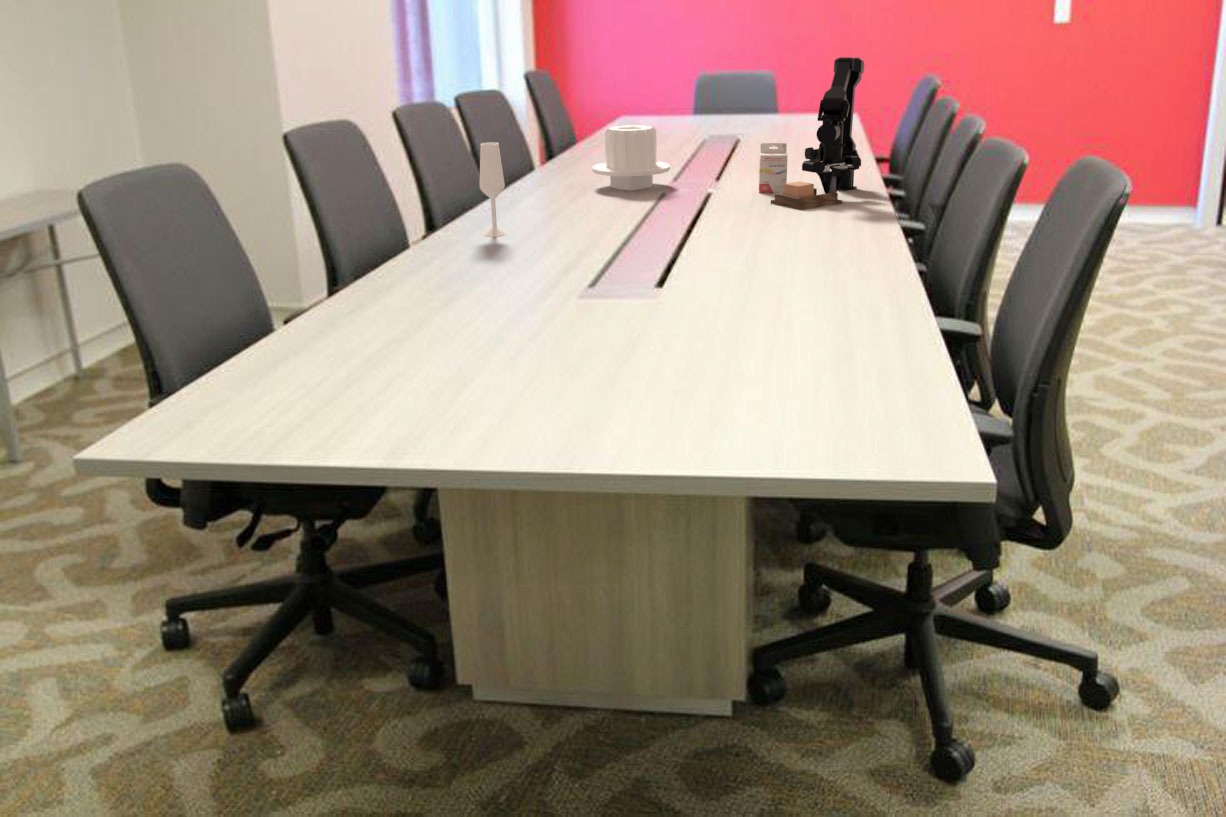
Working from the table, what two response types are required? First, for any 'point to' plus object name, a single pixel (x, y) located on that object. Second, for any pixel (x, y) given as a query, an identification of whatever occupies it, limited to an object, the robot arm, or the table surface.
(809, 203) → the wooden tray
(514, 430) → the table surface
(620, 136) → the flanged gear
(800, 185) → the tethered block
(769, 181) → the ink cartridge box
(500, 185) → the champagne flute
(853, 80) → the robot arm
